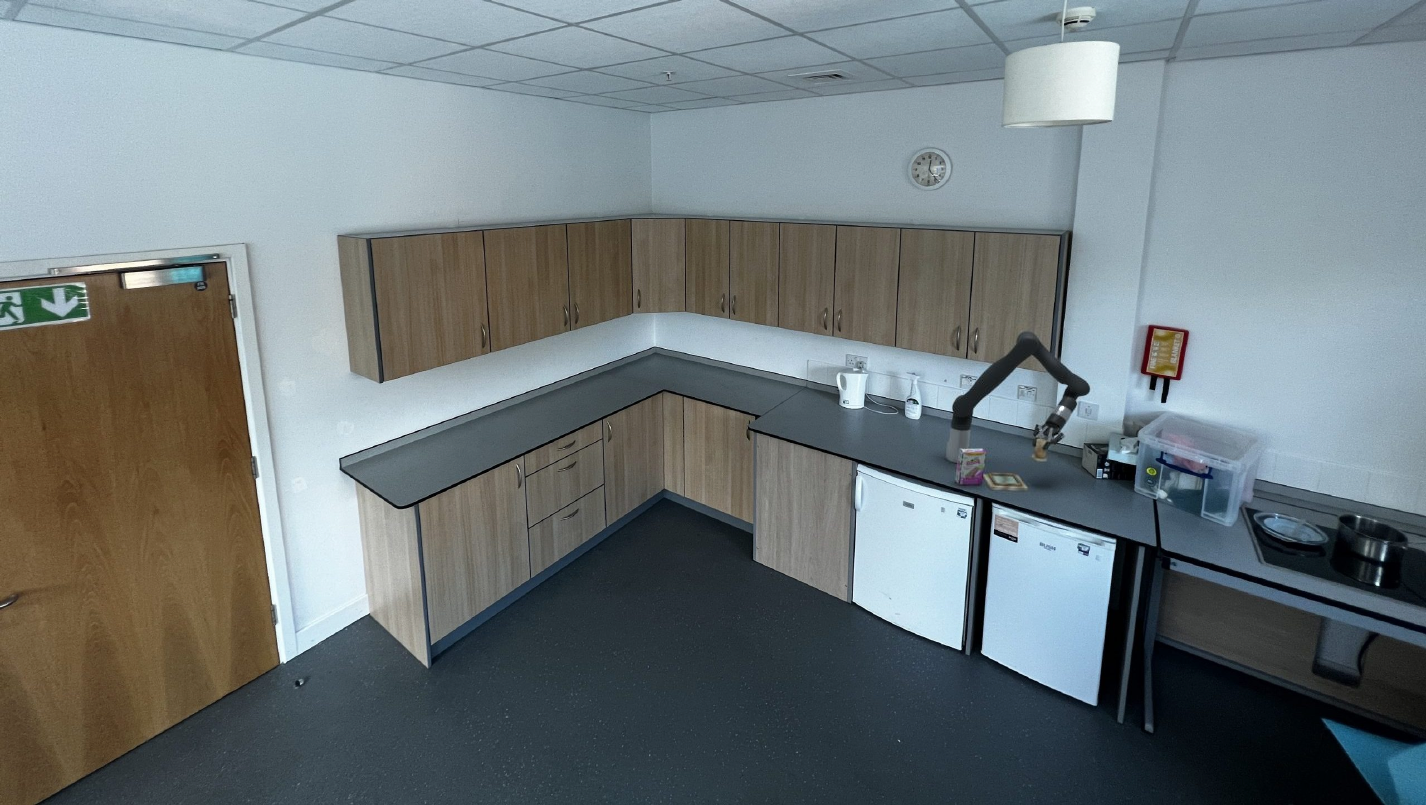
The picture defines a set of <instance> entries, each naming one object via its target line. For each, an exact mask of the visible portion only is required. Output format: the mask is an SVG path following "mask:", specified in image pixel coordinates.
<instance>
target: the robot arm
mask: <svg viewBox="0 0 1426 805" xmlns="http://www.w3.org/2000/svg"><path fill="white" fill-rule="evenodd" d="M1015 343H1016V344H1015V345H1014V346H1013V347H1012V349H1011V350H1010V351H1009V352H1008V353H1007V354H1006V355H1004V356H1002V357H1001V358H1000V359H998V360H996V361H995V362H993V363H991V364H990V365H989V366H988V368H986V369H985V370H984V371H983V372H982V373H981V374H980V376H979V377H978V378H977V380H976V381H975V382H974V383H973V385H972V386H971V388H970V389H968V391H966V392H965V393H964V394H960V395H958V396H956V398H955V399H954V401H953V403H952V406H951V410H952V419H951V424H950V430H949V432H950V433H949V439H948V440H947V442H946V450H945V451H946V452H945V453H946V454H945V459H947V460H948V461H949V462H951V463H953V464H954V463H955V464H957V463H958V455H959V449H969V445H970V437H971V436H970V435H971V428H972V422H973V418H974V417H973V416H974V409H976V406H978V405H979V403H980V402H981V401H982V400H983V399H984V398H985V397H987V396H988V395H989V394H991V393H993V391H994V390H995V389H996V388H998V386H999V387H1000V385H1001V384H1002V383H1003V382H1005V380H1006V379H1007V378H1008V377H1009V376H1010V375H1011V374H1012V373H1013V372H1014V371H1015V370H1016V369H1017V368H1018V367H1019V365H1021V364H1022V363H1023V362H1025V361H1026V360H1027V359H1028V358H1029V357H1031V356H1033V358H1035V359H1036V360H1037V361H1038V362H1039V363H1040V364H1041V366H1042V367H1043V368H1044V369H1045V371H1047V372H1048V374H1049V375H1050V376H1052V378H1053V379H1054V380H1055V381H1057V382H1058V383H1059V384H1061V385H1064V386H1065V385H1066V388H1064V391H1063V394H1062V397H1061V399H1060V401H1059V402H1058V404H1057V405H1056V406H1055V408H1053V410H1052V411H1051V413H1050V414H1049V416H1048V417H1047V418H1046V421H1045V423H1043V424H1042V425H1039V424H1035V426H1034V430H1033V433H1032V435H1033V437H1034V440H1033V441H1032V443H1031V444H1032V447H1033V448H1035V447H1036V442H1037V439H1045V437H1048V438H1047V441H1046V443H1045V444H1044V446H1043V447H1042V449H1043V450H1044V451H1045V450H1048V449H1049V447H1050V446H1052V445H1057V444H1058V443H1059V442H1061V441H1062V440H1063V439H1064V438H1065V437H1066V436H1065V434H1064V432H1062V430H1063V429H1064V427H1065V425H1066V424H1067V423H1068V421H1069V419H1070V418H1071V416H1072V414H1073V413H1074V411H1075V410H1076V408H1077V406H1078V402H1077V400H1078V398H1079V397H1085V396H1087V395H1089V393H1090V392H1091V386H1090V384H1089V383H1088V381H1086V380H1085V379H1084V378H1082V377H1081V376H1079V375H1077V374H1076V373H1074V372H1072V371H1071V370H1070V369H1069V368H1068V367H1067V366H1066V365H1065V364H1064V363H1062V362H1061V361H1060V360H1059V359H1058V357H1057V358H1056V357H1055V355H1054V354H1052V353H1051V352H1050V351H1049V349H1047V347H1046V346H1045V345H1044V344H1043V343H1042V342H1041V340H1040V339H1039V338H1038V336H1037V335H1036V333H1034V332H1033V331H1027V330H1026V331H1022V332H1021V333H1018V335H1017V338H1016V342H1015Z"/></svg>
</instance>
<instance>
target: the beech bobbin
mask: <svg viewBox="0 0 1426 805" xmlns="http://www.w3.org/2000/svg"><path fill="white" fill-rule="evenodd" d="M1046 441H1048V439H1045V438H1041V439H1037V442H1036V447H1034V453H1033V454H1031V460H1033V461H1035V462H1047V461H1048V456H1047V450H1048V449H1047V450H1045V451H1044V450H1043V449H1042V447H1043V446H1044V444H1045V443H1046Z"/></svg>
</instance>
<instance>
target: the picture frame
mask: <svg viewBox="0 0 1426 805" xmlns="http://www.w3.org/2000/svg"><path fill="white" fill-rule="evenodd" d="M983 480H984V482H985V484H986V485H987V486H988V488H989V489H990V490H991V491H1017V492H1019V491H1020V492H1028V487H1027V485H1026V484H1025V482H1024V481H1023V480H1022V479H1021V477H1020V476H1019V474H1015V473H1008V472H988V473H983Z"/></svg>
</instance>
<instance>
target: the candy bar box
mask: <svg viewBox="0 0 1426 805" xmlns="http://www.w3.org/2000/svg"><path fill="white" fill-rule="evenodd" d="M986 458H987V451H986V450H984V449H983V448H968V449H959V455H958V463H956V464H957V465H956V472H955V480H954V481H955V483H957V485H963V486H967V485H971V486H973V485H974V486H975V485H983V480H984V478H983V474H984V472H985V465H986Z"/></svg>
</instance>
